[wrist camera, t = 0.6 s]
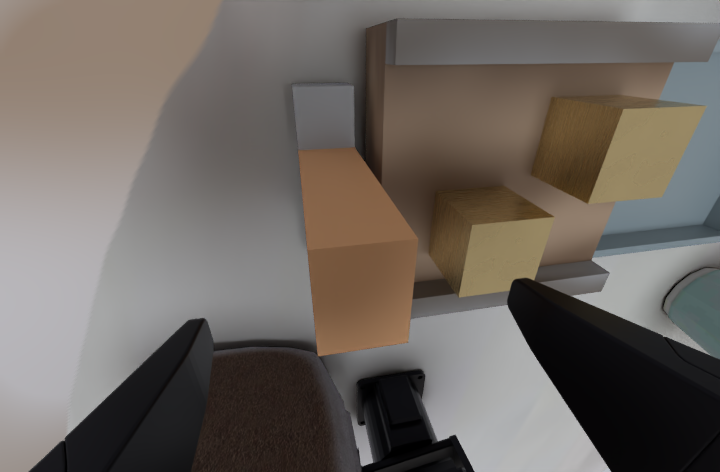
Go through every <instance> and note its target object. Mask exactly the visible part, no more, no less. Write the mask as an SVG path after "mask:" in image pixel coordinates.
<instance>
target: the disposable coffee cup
mask: <svg viewBox="0 0 720 472" xmlns="http://www.w3.org/2000/svg"><path fill="white" fill-rule="evenodd" d="M663 310H664V311H665V312H666V313H667V314H668V317H669V318H670V319H671V320H672V322H673V323H674V324H676V325H677V326H678V327H679V328H680V329H681V330H682V331H684V332H685V333H686V334H687V335H688V336H689V337H690V338H692V339H693V340H694V341H695V342H696V343H697V344H698V345H700V346H701V347H702V348H703V349H704V350H705V351H706V352H708V353H709V354H710V355H711V356H713V357H715V358H718V359H720V270H719V269H716V268H704V269H702V270H699V271H697V272H695V273H692V274H690V275H689V276H687V277H686V278H685V279H684V280H682V281H681V282H680V283H679V284H677V285H676V286H675V287H674V289H673V290H672V291H671V293H670V294H669V295H668V296H667V298H666V300H665V304H664V308H663Z"/></svg>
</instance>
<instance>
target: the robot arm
mask: <svg viewBox="0 0 720 472" xmlns="http://www.w3.org/2000/svg"><path fill="white" fill-rule="evenodd" d="M507 305H508V308H509V310H510V311H511V313H512V315H513V317H514V319H515V321H516V323H517V325H518V327H519V328H520V330H521V332H522V334H523V336H524V338H525V340H526V342H527V344H528V345H529V347H530V349H531V351H532V352H533V354H534V355H535V357H536V358H537V360H538V361H539V363H540V364H541V366H542V368H543V369H544V371H545V372H546V374H547V375H548V377H549V378H550V380H551V381H552V383H553V384H554V386H555V387H556V389H557V390H558V392H559V393H560V395H561V396H562V398H563V399H564V401H565V402H566V404H567V405H568V407H569V408H570V410H571V411H572V413H573V414H574V416H575V417H576V419H577V421H578V422H579V424H580V425H581V427H582V428H583V430H584V431H585V433H586V434H587V436H588V437H589V439H590V440H591V442H592V443H593V445H594V446H595V448H596V449H597V451H598V452H599V454H600V455H601V457H602V458H603V460H604V461H605V463H606V464H607V466H608V467H609V469H610V470H611V472H720V359H718V358H715V357H713V356H710V355H708V354H705V353H703V352H701V351H698V350H696V349H693V348H691V347H689V346H686V345H684V344H681V343H679V342H677V341H674V340H672V339H670V338H667V337H663V336H662V335H660V334H658V333H656V332H653V331H651V330H649V329H646V328H644V327H642V326H639V325H637V324H635V323H632V322H630V321H628V320H625V319H623V318H621V317H618V316H616V315H614V314H611V313H609V312H607V311H604V310H602V309H600V308H597V307H595V306H593V305H590V304H588V303H586V302H583V301H581V300H579V299H576V298H574V297H572V296H569V295H567V294H565V293H562V292H560V291H558V290H555V289H553V288H551V287H548V286H546V285H544V284H541V283H539V282H537V281H534V280H532V279H530V278H518V279H514V280H513V281H512V284H511V287H510V291H509V294H508V298H507ZM213 349H214V343H213V338H212V335H211V332H210V328H209V325H208V322H207V320H206V319H204V318H199V319H191V320H188V321H187V322H186V323H185V324H184V325H183V326H182V327H181V328H179V329H178V330H177V331H176V332H175V333H174V334H173V335H172V336H171V337H170V338H169V339H168V340H167V341H166V342H165V343H164V344H163V345H162V346H161V347H160V348H158V349H157V350H156V351H155V352H154V353H153V354H152V355H151V356H150V357H149V358H148V359H147V360H146V361H145V362H144V363H143V364H142V365H141V366H140V367H139V368H137V369H136V370H135V371H134V372H133V373H132V374H131V375H130V376H129V377H128V378H127V379H126V380H125V381H124V382H123V383H122V384H121V385H120V386H119V387H118V388H116V389H115V390H114V391H113V392H112V393H111V394H110V395H109V396H108V397H107V398H106V399H105V400H104V401H103V402H102V403H101V404H100V405H99V406H98V407H97V408H95V409H94V410H93V411H92V412H91V413H90V414H89V415H88V416H87V417H86V418H85V419H84V420H83V421H82V422H81V423H80V424H79V425H78V426H77V427H76V428H74V429H73V430H72V431H71V432H70V433H69V434H68V435H67V436H66V437H65V441H61V442H60V443H59V444H58V445H57V446H56V447H54V449H52V450H51V451H50V452H49V453H48V454H47V455H46V456H45V457H44V458H43V459H42V460H41V461H40V462H38V463H37V464H36V465H35V466H34V467H33V468H32V469H31V470H30V471H29V472H191V469H192V465H193V461H194V457H195V453H196V448H197V444H198V440H199V436H200V432H201V427H202V423H203V419H204V415H205V410H206V405H207V399H208V392H209V383H210V375H211V366H212V358H213ZM424 381H425V374H424V372H423V371H422V370H418V371H413V372H407V373H401V374H395V375H389V376H384V377H378V378H372V379H366V380H361V381H359V382H358V383H357V421H358V425H360V426H363V425H366V429H367V434H368V439H369V444H370V448H371V453H372V458H373V463H371V464H368V465H365V466H361V472H474V470H473V468H472V466H471V464H470V462H469V460H468V458H467V456H466V454H465V452H464V450H463V448H462V447H461V445H460V443H459V441H458V439H457V437H456V435H453V436H450V437H449V438H448V439H445V440H442V441H437V438H436V436H435V433H434V431H433V428H432V425H431V423H430V420H429V417H428V415H427V412H426V410H425V407H424V404H423V402H422V394H423V388H424Z"/></svg>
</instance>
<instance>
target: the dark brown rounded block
mask: <svg viewBox="0 0 720 472" xmlns="http://www.w3.org/2000/svg"><path fill="white" fill-rule="evenodd" d="M191 472H361V464H360V456H359V449H357V446H356V441H355V436H354V431H353V426H352V421H351V416H350V413H349V412H348V411H346V410H345V407H344V402H343V400H342V398H341V396H340V394H339V392H338V390H337V389H336V387H335V385H334V383H333V381H332V379H331V377H330V375H329V374H328V372H327V370H326V368H325V366H324V364H323V362H322V361H321V359H320V358H319V357H318V356H317V355H316V354H315V353H314V352H310V351H304V350H299V349H294V348H281V347H246V348H237V349H229V350H220V351H213V358H212V366H211V375H210V383H209V392H208V399H207V405H206V410H205V415H204V419H203V423H202V427H201V432H200V436H199V440H198V444H197V448H196V453H195V457H194V461H193V465H192V469H191Z"/></svg>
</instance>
